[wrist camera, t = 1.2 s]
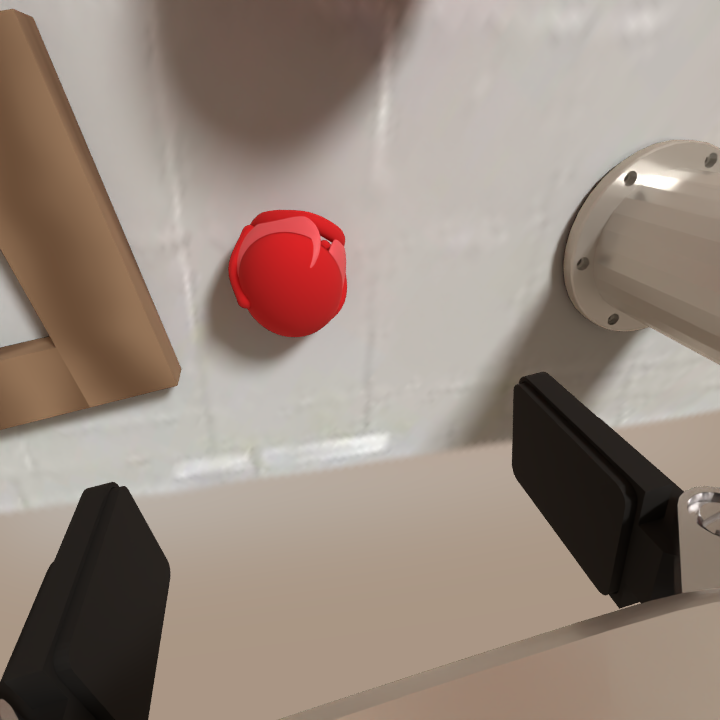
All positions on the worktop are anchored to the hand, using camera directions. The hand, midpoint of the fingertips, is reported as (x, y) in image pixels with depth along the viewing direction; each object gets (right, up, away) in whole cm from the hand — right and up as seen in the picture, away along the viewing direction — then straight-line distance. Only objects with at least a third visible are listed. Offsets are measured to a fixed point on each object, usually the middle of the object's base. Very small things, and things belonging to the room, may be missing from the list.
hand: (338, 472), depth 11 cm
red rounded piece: (-4, +9, +16) cm, 19 cm away
